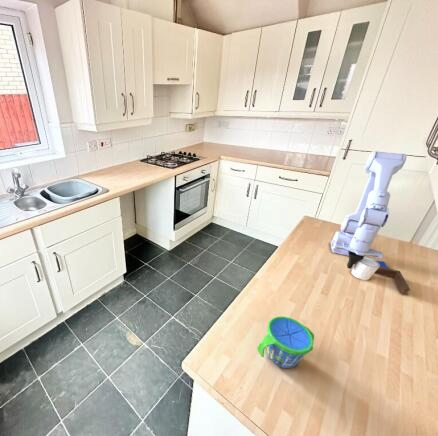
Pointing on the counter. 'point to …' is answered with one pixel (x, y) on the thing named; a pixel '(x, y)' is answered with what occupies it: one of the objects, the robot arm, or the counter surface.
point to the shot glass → (365, 268)
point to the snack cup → (286, 341)
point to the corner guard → (395, 278)
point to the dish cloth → (382, 264)
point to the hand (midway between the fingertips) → (349, 267)
